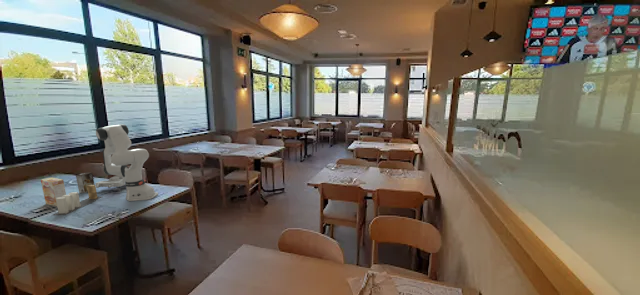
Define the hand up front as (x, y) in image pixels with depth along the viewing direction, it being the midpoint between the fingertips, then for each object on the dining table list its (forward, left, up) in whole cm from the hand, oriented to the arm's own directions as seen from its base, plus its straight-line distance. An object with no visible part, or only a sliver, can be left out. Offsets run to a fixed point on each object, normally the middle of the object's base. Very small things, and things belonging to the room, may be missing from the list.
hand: (102, 186), depth 221 cm
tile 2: (0, +27, -6) cm, 28 cm away
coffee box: (+19, -7, -7) cm, 21 cm away
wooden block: (0, +11, -6) cm, 12 cm away
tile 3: (0, +32, -6) cm, 33 cm away
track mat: (0, +24, -7) cm, 25 cm away
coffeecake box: (+21, +19, -7) cm, 29 cm away
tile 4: (0, +37, -6) cm, 37 cm away
